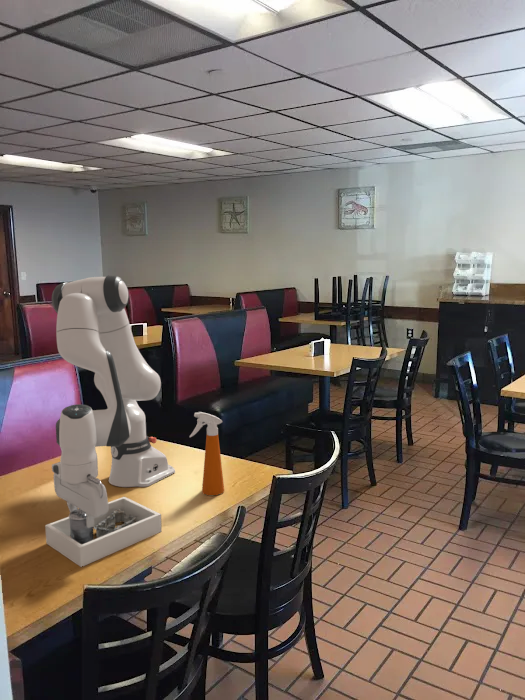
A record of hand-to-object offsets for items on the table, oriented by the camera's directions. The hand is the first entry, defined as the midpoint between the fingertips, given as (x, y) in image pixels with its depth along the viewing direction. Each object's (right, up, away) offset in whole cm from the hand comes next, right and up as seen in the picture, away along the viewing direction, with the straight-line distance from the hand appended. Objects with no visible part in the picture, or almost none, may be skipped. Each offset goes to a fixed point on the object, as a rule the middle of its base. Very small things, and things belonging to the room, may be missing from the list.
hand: (82, 521), depth 143 cm
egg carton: (+6, -6, +9) cm, 13 cm away
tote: (+4, -6, +6) cm, 9 cm away
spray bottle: (+29, -1, +34) cm, 45 cm away
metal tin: (0, -5, +1) cm, 5 cm away
